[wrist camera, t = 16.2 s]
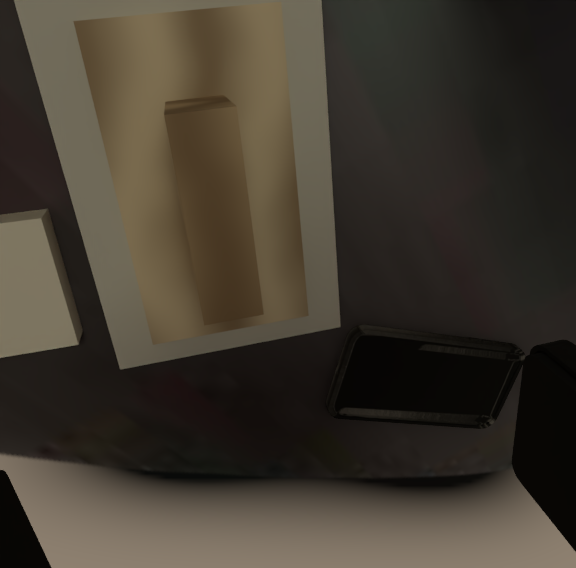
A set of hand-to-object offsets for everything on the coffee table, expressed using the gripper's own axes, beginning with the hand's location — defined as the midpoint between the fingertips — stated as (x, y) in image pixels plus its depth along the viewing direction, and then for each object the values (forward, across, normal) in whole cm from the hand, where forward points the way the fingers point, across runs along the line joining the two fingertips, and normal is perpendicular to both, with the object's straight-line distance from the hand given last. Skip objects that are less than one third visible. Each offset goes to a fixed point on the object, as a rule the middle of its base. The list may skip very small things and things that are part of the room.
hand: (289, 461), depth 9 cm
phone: (+24, -14, +18) cm, 33 cm away
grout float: (+23, 0, +1) cm, 23 cm away
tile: (+22, +14, 0) cm, 26 cm away
